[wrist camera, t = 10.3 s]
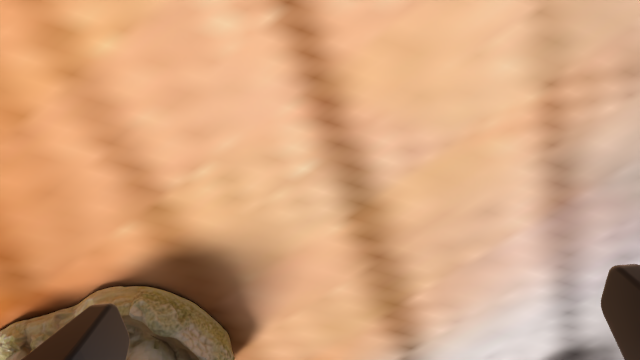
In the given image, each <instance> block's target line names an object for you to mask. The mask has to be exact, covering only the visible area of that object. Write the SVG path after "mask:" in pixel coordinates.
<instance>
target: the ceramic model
mask: <svg viewBox="0 0 640 360" xmlns="http://www.w3.org/2000/svg"><path fill="white" fill-rule="evenodd" d="M106 303H112V304H114V305H116V306H117V308H118V310H119V312H120V314H121V317H122V319H123V321H124V324H125V326H126V328H127V331H128V334H129V341H130V342H129V349H128V353H127V357H126V360H235V357H234V355H233V351H232V347H231V341H230V338H229V335H228V333H227V332H226V330H224V329H223V328H222V326H221V325H220V324H219V323H218V322H216V321H215V320H214V319H213V318H212V317H211V316H210V315H209V314H207V313H206V312H205V311H204V310H203V309H201V308H200V307H199V306H197V305H196V304H194V303H192V302H191V301H189V300H187V299H185V298H180V296H177V295H175V294H173V293H170V292H167V291H164V290H161V289H156V288H153V287H147V286H130V287H123V286H118V287H110V288H106V289H103V290H98V291H96V292H95V293H93V294H91V295H89V296H88V297H87V298H85V299H84V300H83V301H82V302H80V303H79V304H77V305H76V306H73V307H70V308H67V309H62V310H58V311H56V312H54V313H50V314H47V315H43V316H41V317H35V318H32V319H29V320H23V321H19V322H16V323H13V324H11V325H10V326H8V327H7V328H5V329H3V330H1V331H0V360H21V359H23V358H24V357H25V356H26V355H28V354H29V353H30V352H31V351H33V350H34V349H35V348H37V347H38V346H39V345H40V344H42V343H43V342H44V341H45V340H47V339H48V338H49V337H51V336H52V335H53V334H54V333H56V332H57V331H58V330H60V329H61V328H62V327H63V326H65V325H66V324H67V323H68V322H70V321H71V320H72V319H74V318H75V317H76V316H77V315H79V314H80V313H81V312H83V311H84V310H85V309H86V308H88V307H89V306H91V305H94V304H106Z"/></svg>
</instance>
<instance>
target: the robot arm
mask: <svg viewBox="0 0 640 360" xmlns="http://www.w3.org/2000/svg"><path fill="white" fill-rule="evenodd" d="M601 308H602V312H603V314H604V317H605V319H606V321H607V323H608V325H609V327H610V329H611V332H612V334H613V336H614V338H615V340H616V342H617V344H618V347H619V349H620V351H621V353H622V355H623V357H624V359H625V360H640V265H637V264H630V265H617V266H614V267H612V268H611V269H610V270H609V273H608V276H607V280H606V284H605V287H604V291H603V294H602V298H601ZM129 342H130V341H129V334H128V331H127V328H126V326H125V324H124V321H123V319H122V317H121V314H120V312H119V310H118V308H117V306H116V305H114V304H112V303H106V304H94V305H91V306H89V307H88V308H86V309H85V310H84V311H83V312H81V313H80V314H79V315H77V316H76V317H75V318H74V319H72V320H71V321H70V322H68V323H67V324H66V325H65V326H63V327H62V328H61V329H60V330H58V331H57V332H56V333H54V334H53V335H52V336H51V337H49V338H48V339H47V340H45V341H44V342H43V343H42V344H40V345H39V346H38V347H37V348H35V349H34V350H33V351H31V352H30V353H29V354H28V355H26V356H25V357H24V358H23V359H21V360H126V357H127V353H128V349H129Z"/></svg>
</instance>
